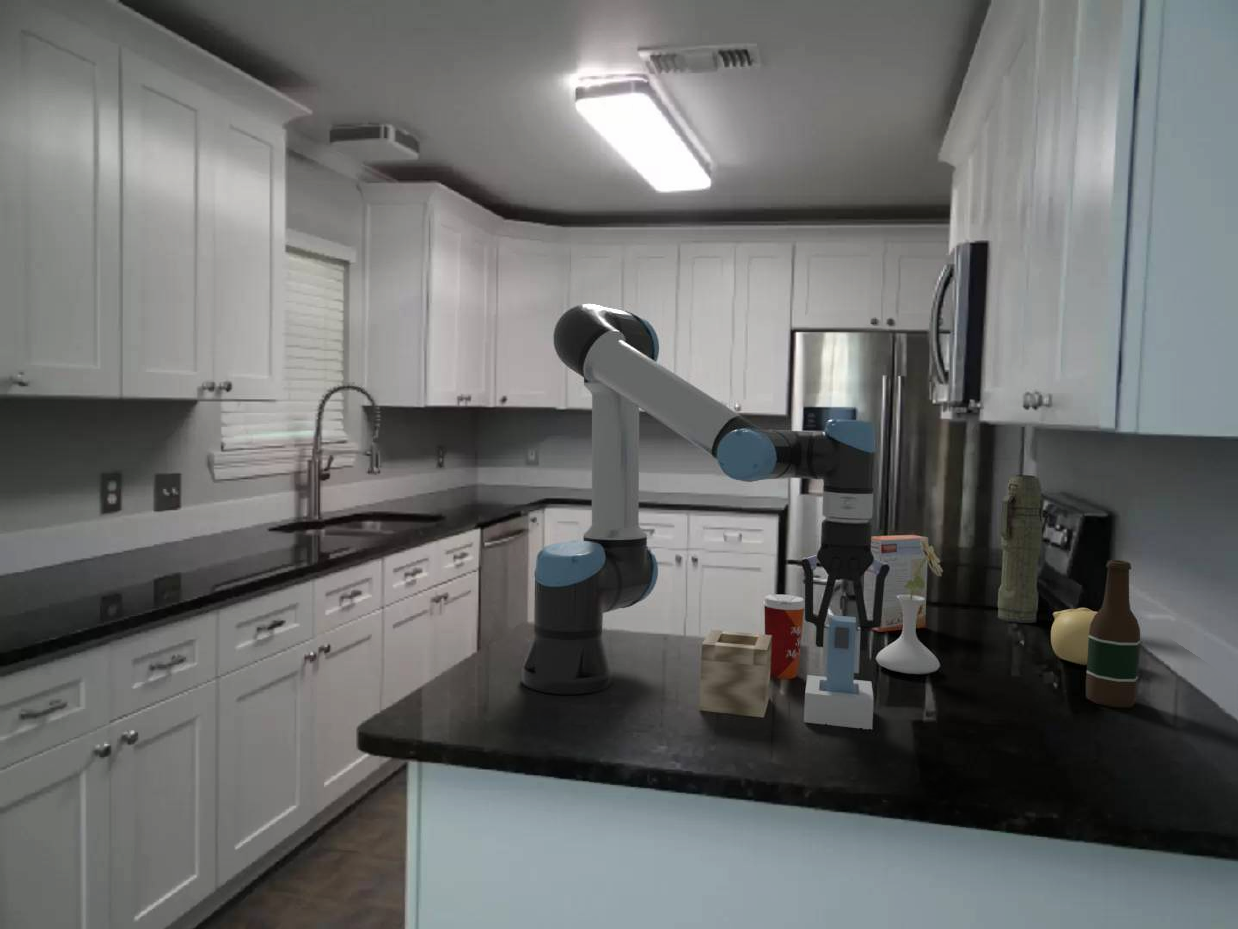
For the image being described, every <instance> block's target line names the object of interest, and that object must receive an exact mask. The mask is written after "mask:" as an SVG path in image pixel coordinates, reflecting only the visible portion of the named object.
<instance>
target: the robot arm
mask: <svg viewBox="0 0 1238 929" xmlns="http://www.w3.org/2000/svg"><path fill="white" fill-rule="evenodd" d="M659 342H660V341H659V336H658V335H657V332H656V331H655V328H654V327H653V326H652V325H651V324H650V322H649V321H648V320H647V319H645V318H643V317H642V316H640V315H638V314H635V313H634V312H630V311H628V310H620V309H614V308H611V307H610V308H609V307H604V306H602V305H598V304H597V305H596V304H593V303H592V304H591V303H586V304H579V305H576V306H573V307H571V308H569V309H568V310H567V311H565V312H564V313H563V314H562V315H561V317H560V318H559V319H558V320H557V322H556V325H555V328H554V331H553V346H554V347H553V348H554V350H555V352H556V355H557V356H558V358H559V360H560V361H561V362H562V363H563V364H564V365H565V366H566V367H568V368H569V369H570V370H572V371H573V372H575V373H576V374H578V375H579V376H581V377H583V386H584V387H585V389H587V390H588V391H589V393H590V394H591V396H592V397H591V401H592V402H591V418H592V419H591V422H592V423H591V526H590V527H589V528H588V529H587V530H586V531H585V532H584V533H583V539H582V540H571V541H562V542H561V541H560V542H557V543H553V544H550V545H547V546H545V547H543V548H542V549H540V550H539V552H538V554H537V555H536V562H535V568H534V610H533V611H534V612H533V615H534V616H533V618H534V619H533V637H532V640H531V643H530V646H529V648H528V651H527V654H526V657H525V660H524V662H523V666H522V669H521V670H522V672H521V682H522V684H523V685H524V686H525V687H527V688H529V689H531V690H534V691H538V692H541V693H547V694H554V695H583V694H590V693H591V694H592V693H596V692H599V691H602V690H605V689H606V688H608V687H609V686H610V685H611V682H612V680H611V679H612V668H611V665H610V661H609V657H608V655H607V652H606V648H605V645H604V644H605V643H604V641H603V623H604V622H603V616H604V614H605V613H608V612H612V611H615V610H619V609H626V608H629V607H632V606H634V605H635V604H638V603H639V602H642V601H643V600H645V599H647V598H648V596H649V595H651V593H652V591H653V590H654V588H655V586H656V584H657V581H658V575H659V567H658V566H659V564H658V562H657V558H656V555H655V554H653V552H652V549H651V548H650V547H649V546H648V534H647V533H646V532H645V531H644V530H643V529H642V528H641V527H640V524H639V521H640V520H639V519H640V517H639V515H640V513H639V512H640V510H639V508H640V507H639V506H640V505H639V504H640V503H639V502H640V501H639V498H640V496H639V492H640V489H639V488H640V487H639V486H640V485H639V484H640V481H639V480H640V478H639V477H640V473H639V472H640V409H641V410H642V411H644V412H645V413H646V414H648V415H650V416H651V417H653V418H654V419H656V420H657V421H659V422H660V423H662V424H663V425H665V426H667V427H668V429H670V430H673V431H674V432H675V433H677V434H678V435H680V436H681V437H682V438H684V439H685V440H687V441H689V443H691V444H693V445H694V446H696V447H697V448H699V449H701V451H704V452H705V453H706V454H708V455H709V456H711V457H713V458H714V459H715V460H717V463H718V465H719V467H720V469H721V471H722V472H723V473H724V474H725V475H726V476H727V477H728V478H730V479H733V480H736V481H741V482H746V483H748V482H749V483H752V482H759V481H763V480H765V481H766V480H775V479H785V478H786V479H790V478H791V479H811V480H823V486H822V490H823V491H822V513H821V514H822V516H823V517H824V519H823V520H822V521H821V533H820V535H821V536H820V547H819V549H818V550H817V553H816V554H815V555H812V556H809V557H808V556H804V557H803V558H802V559H801V561H800V564H801V568H802V570H803V574H804V604H805V608H804V620H805V621H806V622H807V623H811V624H812V625H814V626H815V628H816V630H815V646H816V648H817V647H818V648H822V666H821V668H822V669H821V670H822V671H827V658H828V635H829V624H825V623H826V620H827V619H826V618H827V617H828V616H827V615H828V612H829V608H830V604H831V600H832V596H833V593H834V590H835V586H836V582H837V581H840V580H847V581H850V582H852V586H853V591H854V597H855V602H856V603H855V604H856V609H857V616H858V621H859V627H858V626H856V636H855V658H854V674H860V673H859V672H860V655H861V654H860V652H861V651H862V652H867V649H868V644H869V643H868V642H869V631H870V630H871V629H872V628H878V627H880V625H881V617H882V605H883V593H884V581H885V578H886V576H887V574H888V572H889V570H890V567H889V564H888V563H887V562H881V561H879V560H876V559H874V557H873V554H872V552H871V537H872V528H873V525H872V523H871V522H870V521H869V520H871V519H872V518H873V512H874V511H873V509H874V480H875V467H876V465H875V462H876V453H877V448H876V427H875V425H874V423H873V422H872V421H869V420H866V419H865V420H863V419H861V420H860V419H858V420H857V419H829V420H827V422H826V424H825V428H824V431H823V430H822V431H806V430H805V431H804V430H783V429H762V428H761V427H759V426H757V425H756V424H754V423H752V422H751V421H750V420H748V419H746V418H744V417H743V416H742V415H740V414H739V413H737V412H736V411H734V410H732V409H731V408H729V407H727V406H726V405H724V404H723V403H721V402H720V401H718V400H716V399H715V398H713V397H712V396H710V395H709V394H707V393H706V392H704V391H703V390H701V389H700V388H698V387H696V386H694V385H693V384H692V383H690V382H688V381H687V380H685V379H683V378H682V377H681V376H679V375H677V374H676V373H674V372H673V371H671V370H669V369H668V368H666V367H665V366H663V365H662V364H660V363H659V362H657V361H658V359H659V356H660V355H659V354H660V343H659ZM818 562H819V563H820V565H821V566H822V568H823V570H824V571H825V572H826V574H827V580H826V584H825V587H824V591H823V595H822V598H821V602H820V607H819V609H818V613H817V614H815V613H814V571H815V570H817V563H818ZM871 565H872V566H873V567H874V569H873V571H874V573H875V574H876V580H875V592H874V604H873V616H872V618H871V619H868V620H867V615H866V609H865V603H864V590H863V587H862V586H863V585H862V580H861V578H862V576H864V573H865V571H866V570H867V569H868V568H869V567H870V566H871Z"/></svg>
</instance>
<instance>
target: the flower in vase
mask: <svg viewBox="0 0 1238 929" xmlns="http://www.w3.org/2000/svg"><path fill="white" fill-rule="evenodd" d="M923 537H924V536H921V539H920V544H921V549H922V551H923V554H924V556H925V557H924V559H923V561H922V562H921V564H920V566H919V567H918V569H917V571H916V574H915V577H914V581H913V582H912V581H911V580H909V582H908V583H907V584H906V585H905V586H904V588H906V589H909V590H911V595H898V596H897V598H898V600H899V601H900V603H901V606H902V610H903V630H902V631H901V634H900V636H899V637H898V638H897V639H896V640H895V641H893V642H891V643H890V644H888V645H887V646H886V647H884V648H883V649H881V650H880V651H878V653H877V655H876V657H875V660H876V662H877V664H878V665H880V666H881V667H883V668H886V669H888V670H890V671H893V672H895V673H896V672H898V673H902V674H908V675H909V674H910V675H926V674H931V673H934V672H936V671H938V669H939V668H940V667H941V664H940V662H939V660H938V657H936V656H935V654H933V652H932V651H930V649H928V647H926V646H925V645H924V644H923V643H922V642H921V641H920V640H919V638H918V636H917V632H916V629H917V628H916V618H917V613H918V610H919V607H920V605H921V604H922V603H923V601H924V600H925V598H923V597H919V596H913V590H914V589H916V588H917V587H919V588H920V589H923V588H924V587H925V584H924V581H923V579H922V578H921V577H920V576H917V574H918V572H919V570H920V568H921V566H922V565H923V563H924V561H925V560H926V561H927V565H928V567H929V568H930V569H931V571H932V572H933V574H935V575H936V576H937V577H942V573H943V572H944V570H943V568H942V567H941V565H940V563H941V560H940V558H938V557H937V555H936V553H935V548H934V547H933V546H932V545H929V540H928V541H927V539H926V538H925V540H924V539H923ZM915 582H916V584H915Z"/></svg>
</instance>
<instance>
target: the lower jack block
mask: <svg viewBox="0 0 1238 929" xmlns="http://www.w3.org/2000/svg"><path fill="white" fill-rule="evenodd" d="M806 677H807V678H806V683H805V684H806V685H805V693H804V708H803V709H804V710H803V711H804V712H803V722H804V723H809V724H819V725H825V724H827V725H826V726H828V725H829V726H835V727H843V728H845V727H846V728H853V729H860V728H862V730H869V729H871V731H872V730H873V719H874V703H875V702H874V701H875V700H874V692H873V685H872V681H869V680H861V679H860V680H859V679H854V681H853V694H847V693H838V692H828V691H826V682H827V676H821V675H809V674H807V676H806Z"/></svg>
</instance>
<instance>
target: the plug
mask: <svg viewBox="0 0 1238 929" xmlns="http://www.w3.org/2000/svg"><path fill="white" fill-rule="evenodd" d="M828 617H829V618H828V625H829V635H828V658H827V670H826V677H827V682H826V691H828V692H838V693H847V694H853V681H854V680H855V678H854V677H855V673H854V658H855V636H856V627H857V618H856V616H845V615H834V614H830V615H829V616H828Z"/></svg>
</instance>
